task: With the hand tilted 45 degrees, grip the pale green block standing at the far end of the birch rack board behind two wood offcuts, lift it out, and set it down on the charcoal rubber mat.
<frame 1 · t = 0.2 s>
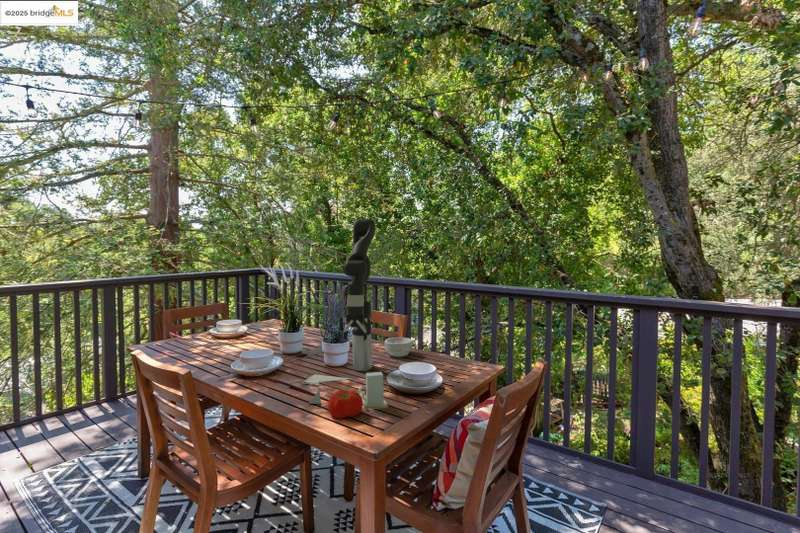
hand: (355, 340, 189), 18 cm above the table, tool pointing down, fingers open, 8 cm apart
tomato: (344, 416, 152), on the table
paper bowls: (398, 354, 227), on the table
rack: (372, 401, 165), on the table
pale green block: (374, 404, 160), point 1 cm above the table, touching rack
offcut low: (370, 394, 170), point 1 cm above the table, touching offcut top, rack
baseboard: (338, 386, 184), on the table
offcut top: (370, 390, 169), point 2 cm above the table, touching offcut low
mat: (323, 398, 168), on the table
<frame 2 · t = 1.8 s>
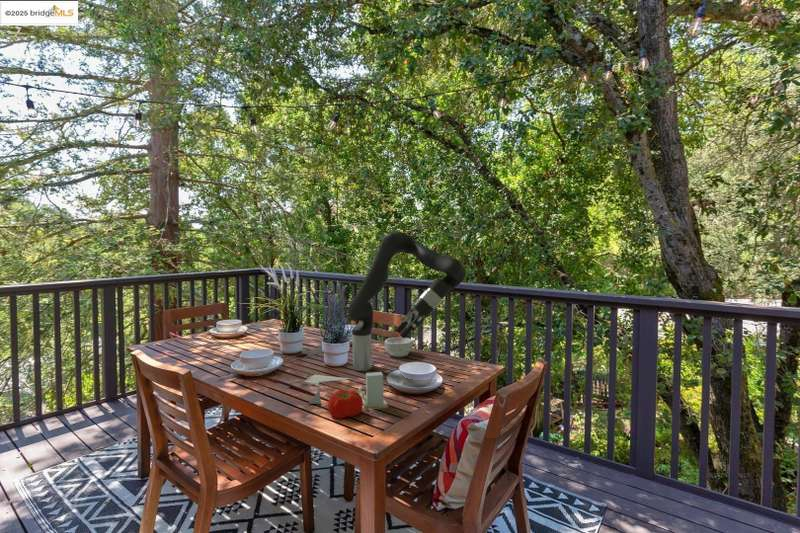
hand: (399, 334, 160), 28 cm above the table, tool tilted 45°, fingers open, 8 cm apart
nothing on the table moved.
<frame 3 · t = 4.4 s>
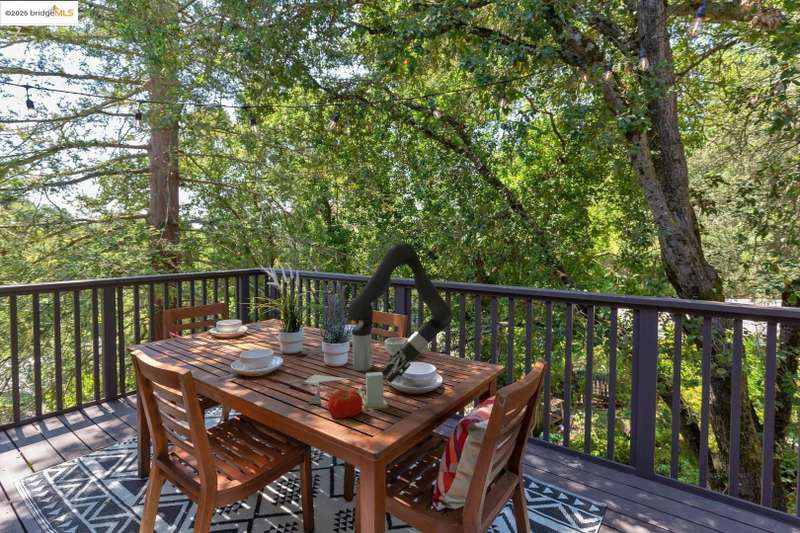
hand: (386, 377, 160), 11 cm above the table, tool tilted 45°, fingers open, 8 cm apart
nothing on the table moved.
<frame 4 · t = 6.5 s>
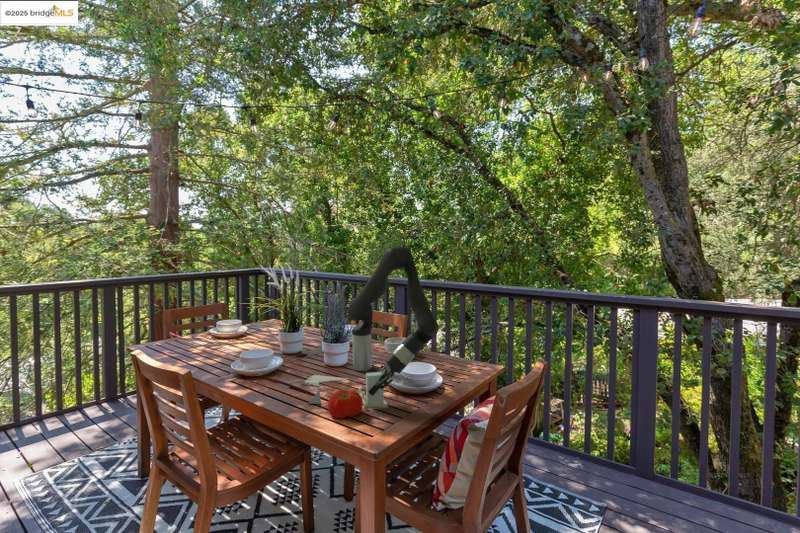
hand: (369, 391, 159), 6 cm above the table, tool tilted 45°, fingers closed on pale green block, 3 cm apart
pale green block: (374, 404, 160), point 1 cm above the table, touching gripper, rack
everything else where it was.
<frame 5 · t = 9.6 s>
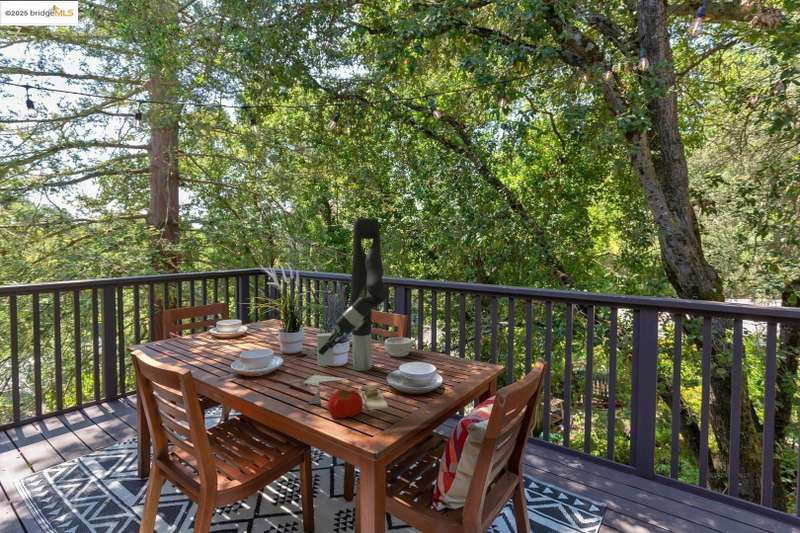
hand: (320, 351, 166), 20 cm above the table, tool tilted 45°, fingers closed on pale green block, 3 cm apart
pale green block: (325, 364, 167), point 14 cm above the table, touching gripper
everything else where it was.
when the fingers open (7 cm above the table, at t = 12.6 s): pale green block drops 1 cm, resting on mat.
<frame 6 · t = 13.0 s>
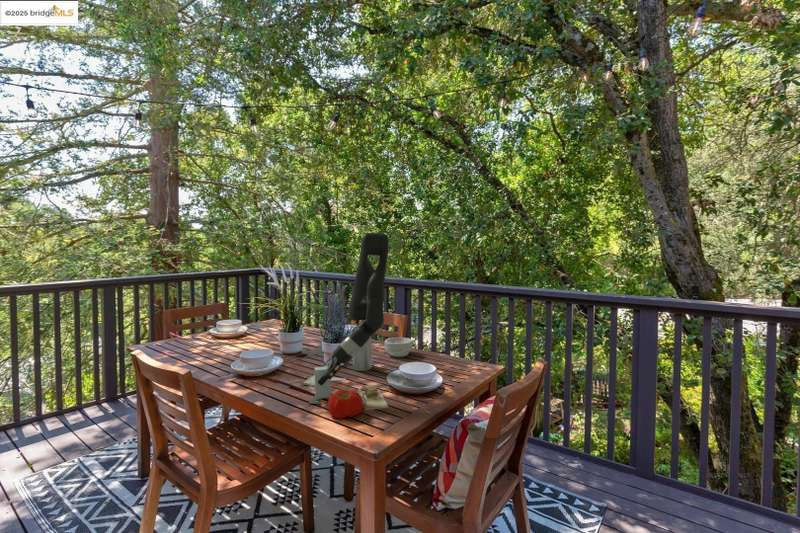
hand: (319, 380, 167), 8 cm above the table, tool tilted 45°, fingers open, 7 cm apart
pale green block: (323, 397, 168), point 1 cm above the table, touching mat
everything else where it was.
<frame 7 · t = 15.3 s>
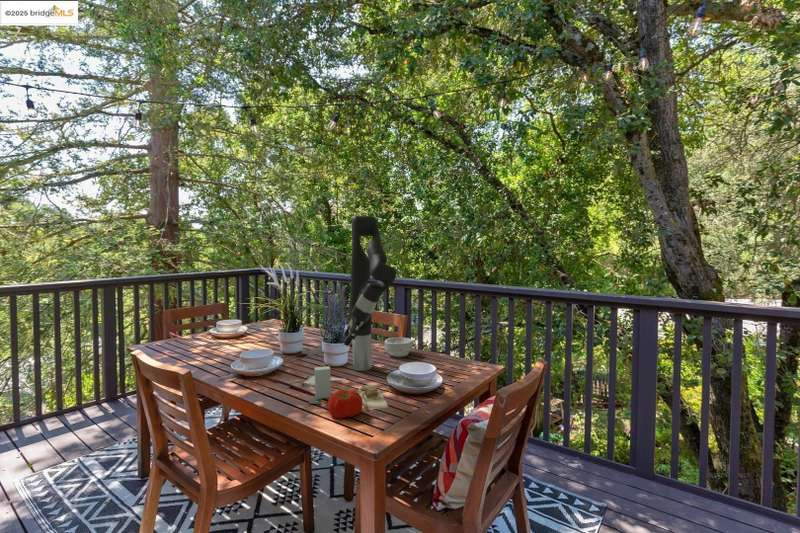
hand: (346, 340, 173), 22 cm above the table, tool tilted 30°, fingers open, 8 cm apart
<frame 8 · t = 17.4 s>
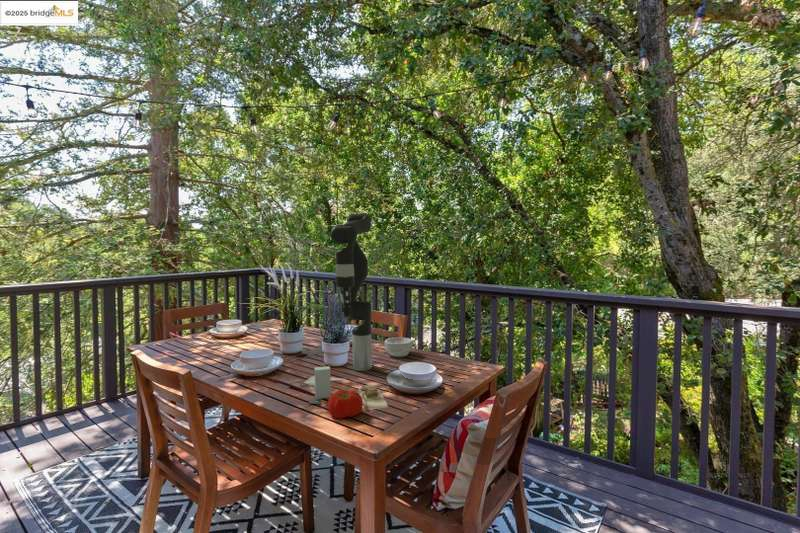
hand: (345, 314, 172), 33 cm above the table, tool pointing down, fingers open, 8 cm apart
at the end: pale green block inside the target area on the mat (0.1 cm from its centre), point 0.6 cm above the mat's base; the gripper is holding nothing; pale green block moved 23.0 cm from its start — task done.
